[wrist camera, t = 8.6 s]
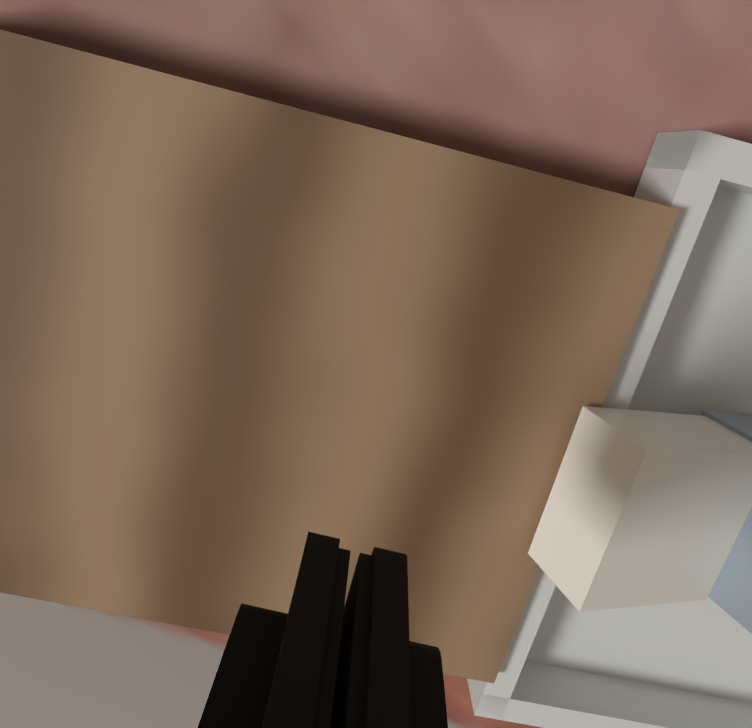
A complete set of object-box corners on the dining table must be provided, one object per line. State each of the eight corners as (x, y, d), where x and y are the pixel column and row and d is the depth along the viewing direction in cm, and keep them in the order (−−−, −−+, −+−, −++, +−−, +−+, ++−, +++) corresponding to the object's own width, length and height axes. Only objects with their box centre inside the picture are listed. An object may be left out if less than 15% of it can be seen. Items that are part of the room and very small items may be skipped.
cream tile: (705, 415, 20) (777, 456, 17) (646, 547, 21) (705, 599, 19) (582, 406, 18) (647, 449, 15) (528, 553, 19) (579, 611, 17)
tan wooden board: (632, 201, 19) (679, 209, 16) (478, 620, 24) (494, 683, 21) (-50, 20, 17) (-132, -6, 14) (-64, 515, 22) (-127, 568, 19)
